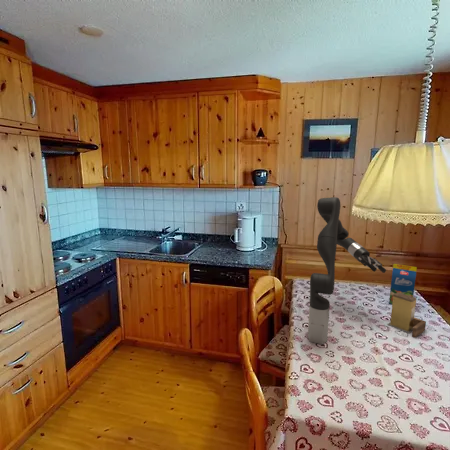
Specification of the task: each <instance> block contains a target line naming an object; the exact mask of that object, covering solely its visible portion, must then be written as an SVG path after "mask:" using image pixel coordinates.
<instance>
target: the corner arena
mask: <svg viewBox="0 0 450 450" xmlns="http://www.w3.org/2000/svg"><path fill="white" fill-rule="evenodd" d="M426 326H427V321H425V320H423V319H420V318H418V317H415V316H414V322H413V331H412V332H411V333H412V334H411V337H413V338H414V339H416V338H417V337H419V336H420V335H421V334H423V333H424V332H425V331H426Z"/></svg>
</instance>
